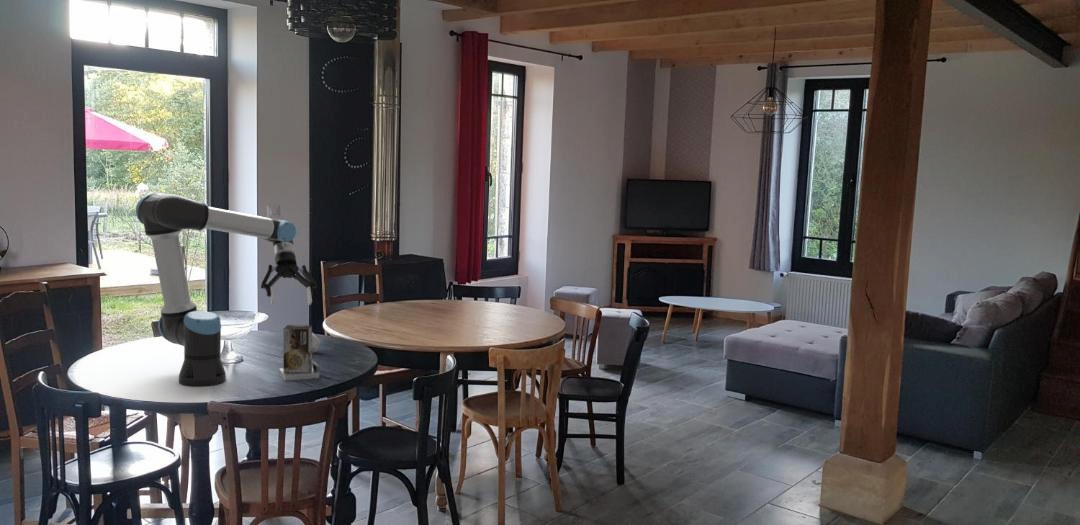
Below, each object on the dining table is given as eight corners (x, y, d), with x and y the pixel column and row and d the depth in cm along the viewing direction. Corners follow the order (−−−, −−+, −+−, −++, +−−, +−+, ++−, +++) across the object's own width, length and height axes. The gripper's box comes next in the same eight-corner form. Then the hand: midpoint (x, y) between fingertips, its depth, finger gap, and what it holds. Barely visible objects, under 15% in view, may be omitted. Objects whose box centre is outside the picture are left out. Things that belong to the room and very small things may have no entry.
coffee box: (312, 368, 307) (313, 325, 305) (308, 373, 300) (309, 328, 298) (286, 368, 306) (287, 324, 304) (282, 372, 300) (283, 327, 298)
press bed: (284, 380, 296) (285, 368, 296) (278, 374, 305) (279, 362, 304) (319, 378, 302) (319, 366, 301) (312, 371, 311) (312, 359, 310)
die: (314, 350, 347) (299, 332, 345) (327, 343, 342) (313, 324, 340) (303, 361, 340) (288, 342, 338) (317, 354, 335) (302, 335, 333)
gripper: (252, 249, 312) (258, 297, 301) (320, 251, 324) (327, 297, 313) (249, 261, 317) (254, 309, 306) (316, 262, 329) (323, 308, 318)
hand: (291, 303), depth 309 cm, fingers open, 13 cm apart
